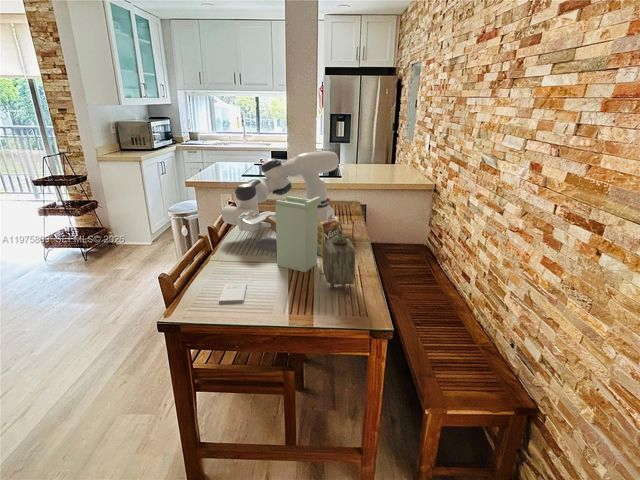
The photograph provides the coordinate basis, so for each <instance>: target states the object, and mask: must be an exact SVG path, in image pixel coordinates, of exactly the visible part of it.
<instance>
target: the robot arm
mask: <svg viewBox="0 0 640 480" xmlns="http://www.w3.org/2000/svg"><path fill="white" fill-rule="evenodd" d="M339 160H340V159H339V156H338V155H337V153H336V152H334V151H330V150H322V151H321V150H320V151H310V152H309V151H308V152H303V153H300V154H298V155H296V156H294V157H291V158H290V159H287V160H286V161H285V162H282V160H281V159H277V158H267V159H266V160H265V161H264V162H263V163H262V164H261V166H260V169H261V172H262V174H264V177H261V178H260V177H259V179H250V180H248V181H246V182H244V183H242V184H239V185H238V186H237V187H236V188H235V190H234V194H235V197H236V202H237V206H235V205H233V206H232V205H231V206H230V205H228V206H227V205H225V206H224V207H223V208H222V210H221V219H222V221H223V222H225V223H226V224H229V225H232V226H237V227H238V231H241V232H243V231H245V232H250V233H251V232H255V231H258V230H260V229H262V228H269V227H272V226H273V225H272V223H270V222H269V223H265V222H264V221H265V219H266V217H267V216H269V215H271V214H272V215H273V216H275V217H276V211H268V210H267V211H262V212H259V205H258V204H259V203H265V202H266V201H267V200H268V199H269V196H270V194H271V193H272V194H273V195H277V196H284V195H286V194H288V193H289V192H290V191H291V190H292V188H293V187H292V183H291V181H290V180H289V177H290V178H300V177H302V179H303V181H304V184H305V193H306V196H305V197H306V198H305V199H310V200H311V199H313V198H315V197H317V196H318V197H321V204H320V205H318V206H317V229H318V221H323V220H328V219H333V218H334V219H337V220H339V217H338V216H336V215H335V210H334V208H332V206H330V205H329V202H331V198H330V197H328V184H327V183H326V181H324V180H322V179H321V177H320V174H324V173H329V172H332V171H335V170H336V169H337V168H338V167H339V164H340V163H339Z"/></svg>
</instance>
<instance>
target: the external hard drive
mask: <svg viewBox="0 0 640 480" xmlns="http://www.w3.org/2000/svg"><path fill="white" fill-rule="evenodd" d="M247 287H248V283H246V282H241V283H239V282H238V283H225V284H224V285H223V288H222V291H221V294H220V297H219V300H218V304H238V303H239V304H240V303H241V304H242V303H244V302H245V299H246V298H245V296H246V293H247Z"/></svg>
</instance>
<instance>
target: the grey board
mask: <svg viewBox="0 0 640 480" xmlns="http://www.w3.org/2000/svg"><path fill="white" fill-rule="evenodd" d="M254 248H256V249H260V250H264V251H269V252H273V253H277V239H276V237H270V236H265V237H263V238H261V239H259V240H257V241H256V242H254Z"/></svg>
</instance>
